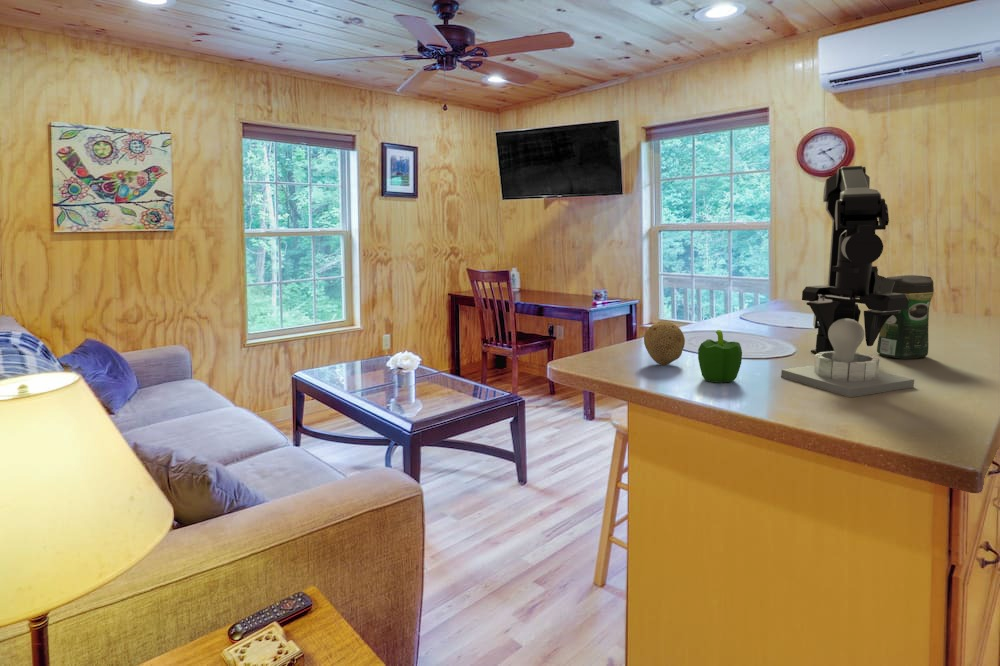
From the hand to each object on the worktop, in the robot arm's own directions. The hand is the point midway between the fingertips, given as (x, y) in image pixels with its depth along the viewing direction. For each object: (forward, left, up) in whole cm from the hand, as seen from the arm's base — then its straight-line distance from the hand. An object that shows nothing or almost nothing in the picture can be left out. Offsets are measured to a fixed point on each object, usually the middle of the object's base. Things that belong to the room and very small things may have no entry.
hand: (848, 341), depth 115 cm
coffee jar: (-30, -11, -8) cm, 33 cm away
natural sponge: (+23, -27, -8) cm, 36 cm away
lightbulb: (0, -1, -7) cm, 7 cm away
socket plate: (0, 0, -8) cm, 8 cm away
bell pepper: (+21, -11, -8) cm, 25 cm away
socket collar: (0, 0, -7) cm, 7 cm away
